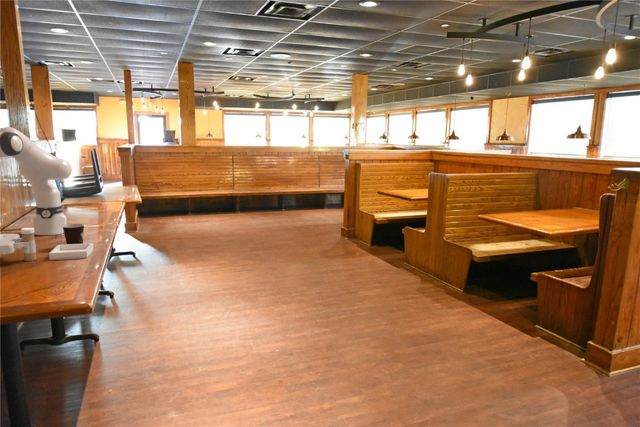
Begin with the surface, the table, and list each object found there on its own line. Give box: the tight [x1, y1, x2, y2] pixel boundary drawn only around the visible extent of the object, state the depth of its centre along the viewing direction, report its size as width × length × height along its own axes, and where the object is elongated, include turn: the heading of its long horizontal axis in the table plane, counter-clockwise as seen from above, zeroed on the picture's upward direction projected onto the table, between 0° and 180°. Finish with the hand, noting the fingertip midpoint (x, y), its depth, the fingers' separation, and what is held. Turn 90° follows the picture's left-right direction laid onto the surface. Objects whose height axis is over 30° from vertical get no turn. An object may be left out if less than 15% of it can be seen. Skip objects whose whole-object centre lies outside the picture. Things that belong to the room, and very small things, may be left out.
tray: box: [48, 242, 94, 261], centre depth 188 cm, size 14×14×3 cm
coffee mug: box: [63, 223, 85, 245], centre depth 202 cm, size 12×9×10 cm
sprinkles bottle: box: [20, 227, 37, 262], centre depth 178 cm, size 5×5×13 cm
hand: (30, 242), depth 178 cm, fingers open, 4 cm apart
